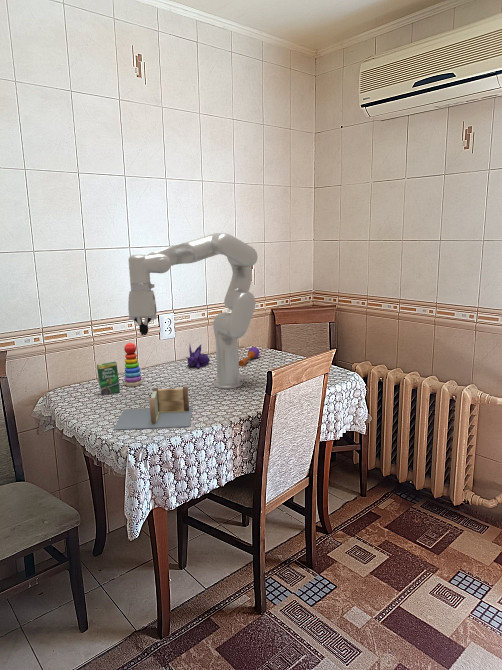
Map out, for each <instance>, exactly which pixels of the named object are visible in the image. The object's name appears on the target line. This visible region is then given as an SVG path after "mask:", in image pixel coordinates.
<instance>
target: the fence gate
mask: <svg viewBox="0 0 502 670" xmlns="http://www.w3.org/2000/svg"><path fill="white" fill-rule="evenodd" d="M149 408H150V416H151V423H155V422H156V418H157V414H158V400H157V391H153V390H152V394H151V397H150V398H149Z"/></svg>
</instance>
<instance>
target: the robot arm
mask: <svg viewBox="0 0 502 670" xmlns="http://www.w3.org/2000/svg"><path fill="white" fill-rule="evenodd" d="M219 255H221V256H223V255H224V256H225V257H226V258H227V261H228V263H229V264H230V267H231V270H232V277H231V278H230V279H231V280H230V283H229V285H228V288H227V291H226V294H225V296H224V301H223V303H224V306H225V307H226V308H227V310H230V311H231V312H230V313H229V312H225V311H224V312H221V313H218V314H216V316H215V317H214V320H213V323H212V327H213V333H214V339H215V352H216V353H215V355H216V380H214V382H213V385H214V387H215V388H219V389H224V390H225V389H227V390H228V389H237V388H240V387H241V386H243V384H244V382H243V381H250V380H251V379H250V378H251V377H250V375H247V374H243V375H242V374H240V373H241V372H240V366H239V361H240V359H239V357H240V356H239V342H238V339H241V338H242V337H244V336H245V334H246V333H247V331H248V329H249V326H250V324H251V322H252V321H251V320H252V318H253V315H254V312H255V311H256V310H255V309H256V298H255V296H254V294H253V293H252V292H251V291H250V288H251V284H252V281H253V270H252V268H251V267H253V266H255V264H256V263H257V262H258V256H259V255H258V253H257V251H256V249H255V248H254V247H253V246H251V245H249V244H247V243H246V242H244V241H242V240H240V239H239V238H237V237H235V236H234V235H231V234H229V233H226V232H216V233H215V232H214V233H211V234H207V235H205V236H202V237H201V236H200V237H198V238H196V239H193V240H189V241H186V242H182V243H179V244H175V245H172V246H169V247H168V246H167V247H165V248H162V249H158V250H154V251H152V252H150V253H148V254H131V255H130V256H129V257H128V270H129V283H130V284H129V285H130V291H129V293H128V320H129V321H133V322H135V323H136V324H138V328H139V333H140V335H141V336H147V334H148V333H149V323H150V322H151V321H154V320H157V319H158V316H157V314H158V313H157V303H156V297H155V291H154V290H152V289H154V288H155V284H153V283H152V282H151V274H165V273H167V272H169V270H170V269H171V267H172V266H176V265H181V264H182V265H184V264H193V263H197V262H200V261H203V260H205V259H208V258H212V257H215V256H219ZM143 318H144V321H143Z"/></svg>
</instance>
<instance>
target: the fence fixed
mask: <svg viewBox="0 0 502 670" xmlns="http://www.w3.org/2000/svg"><path fill="white" fill-rule="evenodd" d="M153 391H157V400H158V412H168V411H189V406H190V402H189V387H188V386H187V385H186V386H183V387H182V388H162V389H159V387H153V388H152V392H153Z"/></svg>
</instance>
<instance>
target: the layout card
mask: <svg viewBox="0 0 502 670" xmlns="http://www.w3.org/2000/svg"><path fill="white" fill-rule="evenodd" d="M193 407H194V406H192V405H191V406H190V405H189V411H168V412H158V414H157V418H156V422H155V423H151V416H150V407H149V408H148V407H147V408H126V409H123V410H122V413H121V414H120V416H119V418H118V420H117V422H116V423H115V426H114V428H113V429H112V430H113V431H128V430H129V431H132V430H152V429H153V430H154V429H156V430H157V429H175V428H176V429H177V428H179V429H180V428H190V425H191V420H192V415H193V409H194V408H193Z"/></svg>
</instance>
